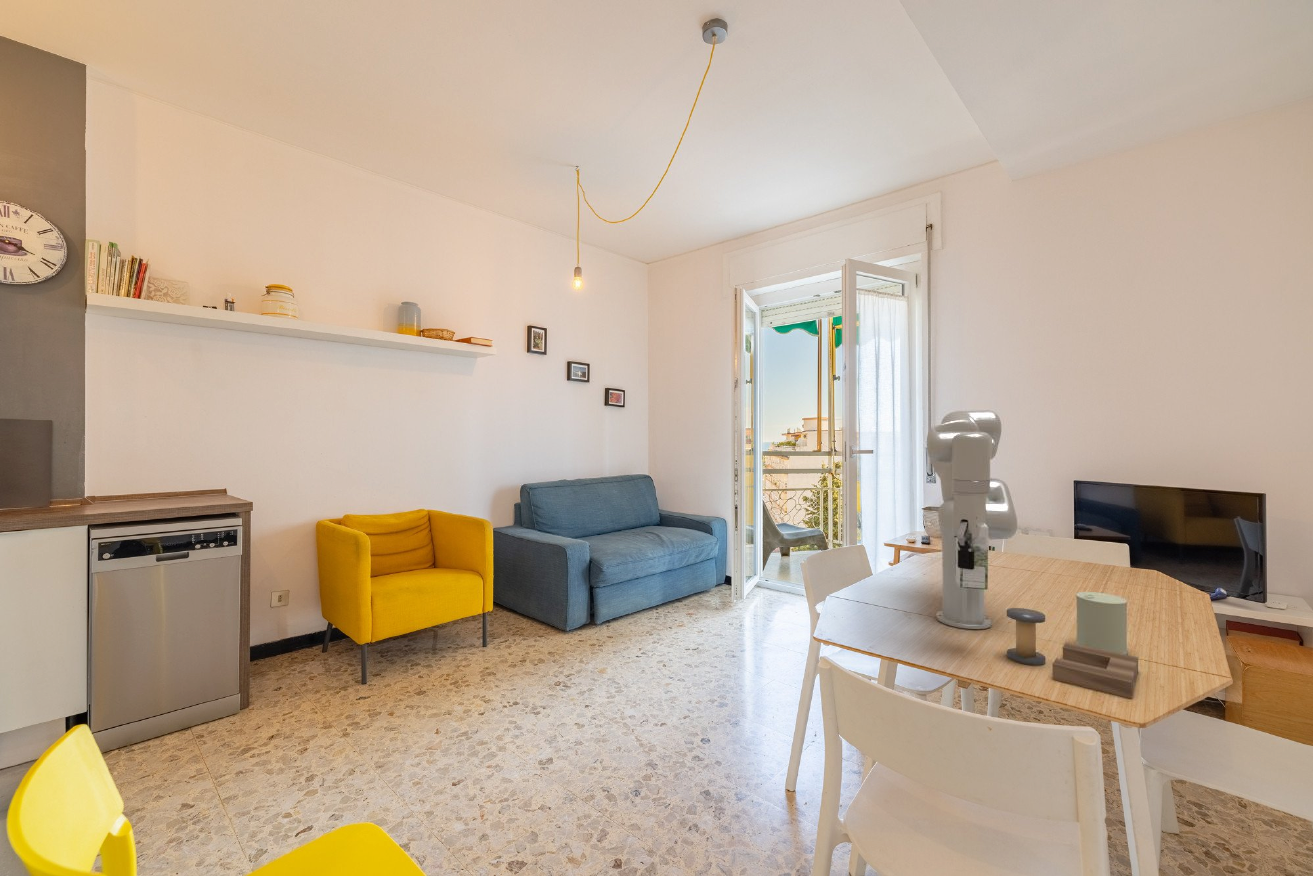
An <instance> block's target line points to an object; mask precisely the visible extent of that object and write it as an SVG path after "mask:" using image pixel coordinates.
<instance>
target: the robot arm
mask: <svg viewBox="0 0 1313 876" xmlns="http://www.w3.org/2000/svg"><path fill="white" fill-rule="evenodd" d="M1001 435H1002V421H1001V419H1000V417H999V415H998V414H997V413H996V411H995V412H994V411H993V410H957V411H952V412H949V413H947V414H946V415H945V416H944V417H943V418H942V419H941V423H939V424H937V425H935V426H932V427H931V428H930V429H929V431H928V432H927V436H926V449H927V450H926V452H927V454H928V455H927V456H928V457H929V460H930V463H931V465H932V468H933V470H934V472H935V473H936V475H937V476H938V478H939V479H940V480H939V481H940V488H941V497H942V502H943V503H942V504H941V505H940V506H939V507H938V512H937V516H938V523H939V529H940V531H939V532H940V538H941V551H942V552H941V559H942V560H941V561H942V564H941V565H942V572H941V573H942V577H941V578H942V610H939V611H937V612H936V613H935V617H936V620H937V621H939V622H940V623H942V624H944V625H948V626H950V627H953V628H959V629H966V630H967V629H968V630H984V629H988V628H990V627H991V626H992V620H991V618H989V617H988V616H986V615H985V590H983V589H970V588H960V587H959V586H958V584H957V583H956V581H955V538H958V567H959V568H963V569H969V570H973V569H974V552H973V544H974V540H975V539H977V538H978V536H979V530H980V526H981V525H982V524H984V523H985V524H986V525H987V527H988V540H989V539H993V540H1007V539H1011V538H1013V536H1015V534H1016V533H1017V530H1018V519H1017V518H1018V517H1017V513H1016V510H1015V506H1014V503H1013V499H1012V494H1011V492H1010V490H1009V489H1010V488H1009V487H1008V484H1007V483H1006V482H1005V481H1004V480H1001V479H999V478H991V460H993V459H995V456H996V454H997V452H998V449H999V448H998V446H999V443H1000V440H1001ZM966 534H968V535H970V536H971V537H966ZM968 541H970V542H969V544H968Z"/></svg>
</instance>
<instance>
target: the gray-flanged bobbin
mask: <svg viewBox="0 0 1313 876" xmlns="http://www.w3.org/2000/svg"><path fill="white" fill-rule="evenodd" d="M1006 617H1007V618H1009V619H1011V620H1015V647H1014V648H1013V647H1012V648H1008V649H1007V650H1006V657H1007V658H1008V660H1011V661H1013V662H1015V663H1017V664H1018V663H1019V664H1022V665H1026V666H1035V667H1036V666H1038V667H1039V666H1044V665H1045V664H1046V662H1047V661H1046V656H1045V655H1044V654H1043V653H1041V652H1037V647H1036V646H1037V642H1036V641H1037V638H1036V637H1037V636H1036V635H1037V634H1036V632H1037V626H1036V625H1037V624H1040V623H1041V624H1043V623H1045V622H1046V614H1045V613H1042V612H1041V611H1037V610H1035V609H1029V608H1023V607H1022V608H1021V607H1010V608H1007V609H1006Z"/></svg>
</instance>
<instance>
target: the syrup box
mask: <svg viewBox="0 0 1313 876" xmlns="http://www.w3.org/2000/svg"><path fill="white" fill-rule="evenodd" d="M966 537H971V536H970V535H968V534H966ZM969 542H970V541H968V544H969ZM973 552H974V569H973V570H969V569H963V568H959V567H958V538H955V581H956V583H957V584H958V586H959V587H960V588H970V589H983V590H984V591H985V590H986V591H987V590H988V589H989V588H988V586H989V585H988V584H989V538H988V527H987V525H986V524H985V523H984V524H982V525H981V526H980V530H979V536H978V538H977V539H975V540H974V544H973Z"/></svg>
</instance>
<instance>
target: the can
mask: <svg viewBox="0 0 1313 876" xmlns="http://www.w3.org/2000/svg"><path fill="white" fill-rule="evenodd" d="M1075 597H1076V598H1075V600H1076V641H1075V644H1077V645H1082V646H1087V647H1092V648H1097V649H1102V650H1107V651H1111V652H1116V653H1121V654H1126V655H1128V652H1129V651H1128V643H1127V642H1128V639H1127V637H1128V636H1127V635H1128V634H1127V633H1128V632H1127V631H1128V630H1127V627H1128V626H1127V624H1128V623H1127V621H1128V620H1127V619H1128V618H1127V617H1128V615H1127V614H1128V613H1127V611H1128V609H1127V607H1128V600H1127V599H1125V598H1123V597H1121V596H1118V595H1115V594H1109V593H1103V592H1095V591H1080V592H1077V593H1076V594H1075Z"/></svg>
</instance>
